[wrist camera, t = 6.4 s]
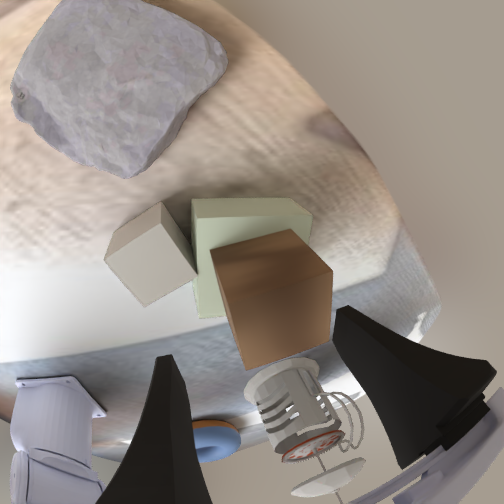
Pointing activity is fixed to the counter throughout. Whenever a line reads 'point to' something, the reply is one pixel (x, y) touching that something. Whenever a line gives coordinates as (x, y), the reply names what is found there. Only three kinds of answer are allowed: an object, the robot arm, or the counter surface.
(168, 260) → the grey cube
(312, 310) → the walnut cube
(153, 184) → the counter surface
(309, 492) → the french press
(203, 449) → the doughnut
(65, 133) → the stone block
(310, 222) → the sage block
